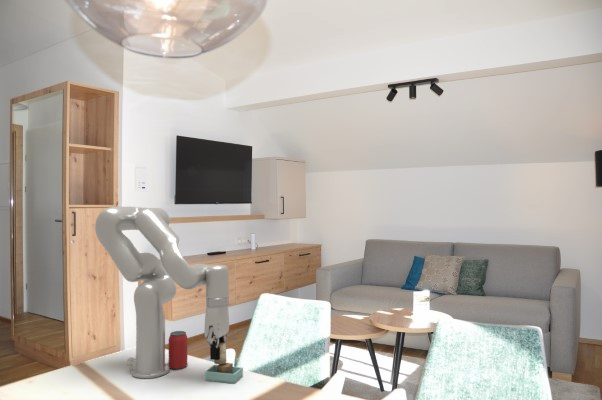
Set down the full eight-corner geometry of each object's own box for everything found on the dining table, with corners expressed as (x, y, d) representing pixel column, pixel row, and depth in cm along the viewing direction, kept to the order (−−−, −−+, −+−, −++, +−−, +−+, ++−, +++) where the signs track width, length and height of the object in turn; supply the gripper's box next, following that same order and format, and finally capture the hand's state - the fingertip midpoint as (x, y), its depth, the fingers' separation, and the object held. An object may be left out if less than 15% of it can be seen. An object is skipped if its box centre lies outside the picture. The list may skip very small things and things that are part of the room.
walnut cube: (227, 379, 160) (216, 378, 161) (232, 375, 163) (221, 374, 164) (227, 367, 160) (216, 366, 161) (232, 363, 163) (221, 362, 164)
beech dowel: (212, 364, 161) (211, 345, 161) (217, 360, 165) (216, 342, 165) (223, 364, 160) (222, 346, 160) (228, 360, 164) (227, 342, 164)
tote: (204, 380, 160) (204, 371, 160) (214, 373, 167) (214, 364, 167) (234, 383, 157) (234, 374, 157) (242, 376, 164) (242, 367, 164)
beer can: (182, 370, 170) (182, 335, 170) (165, 369, 171) (165, 334, 171) (190, 364, 176) (190, 331, 176) (173, 363, 178) (173, 330, 178)
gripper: (217, 297, 172) (218, 349, 172) (195, 306, 156) (196, 364, 156) (237, 298, 170) (238, 350, 170) (217, 307, 154) (217, 366, 154)
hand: (218, 356), depth 163 cm, fingers closed on beech dowel, 3 cm apart
